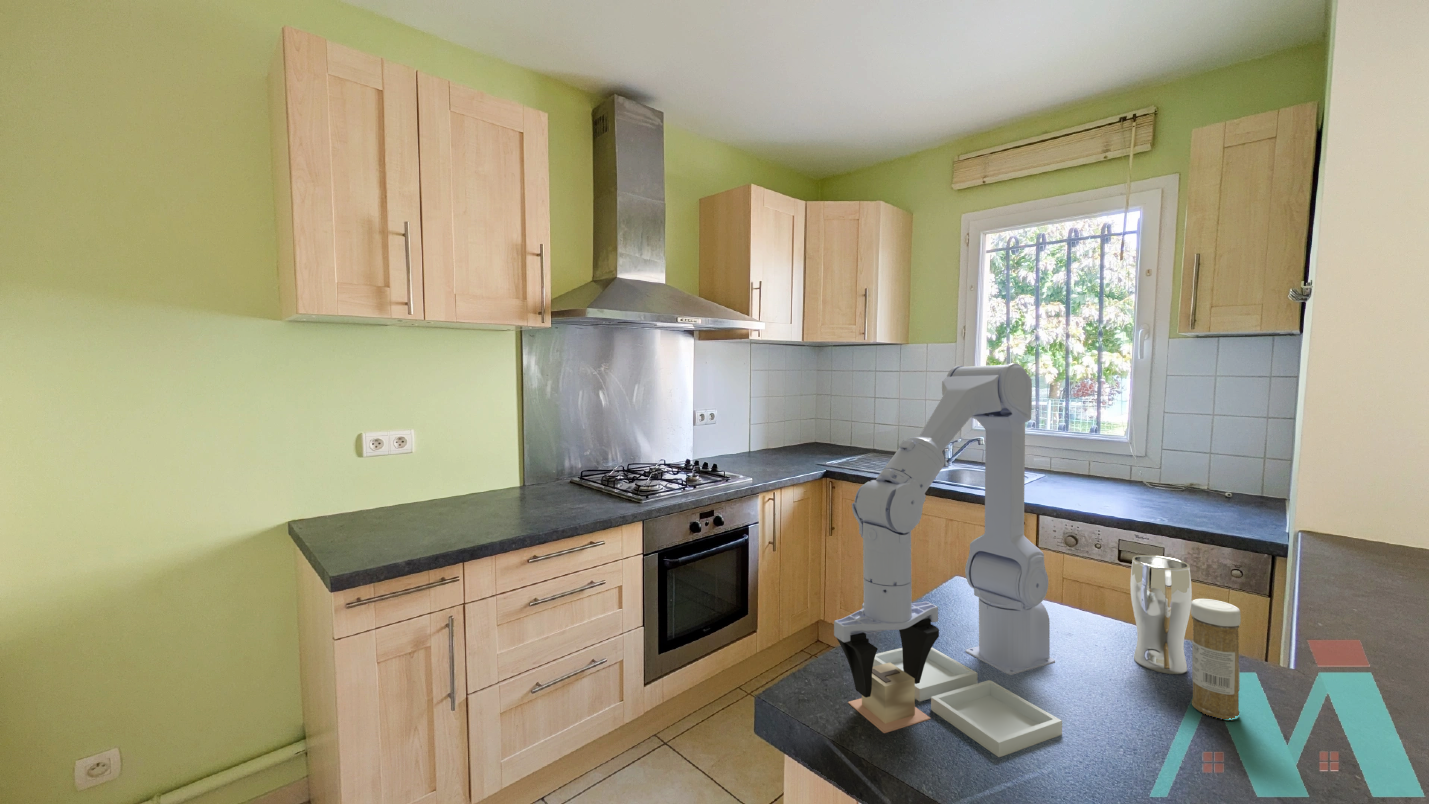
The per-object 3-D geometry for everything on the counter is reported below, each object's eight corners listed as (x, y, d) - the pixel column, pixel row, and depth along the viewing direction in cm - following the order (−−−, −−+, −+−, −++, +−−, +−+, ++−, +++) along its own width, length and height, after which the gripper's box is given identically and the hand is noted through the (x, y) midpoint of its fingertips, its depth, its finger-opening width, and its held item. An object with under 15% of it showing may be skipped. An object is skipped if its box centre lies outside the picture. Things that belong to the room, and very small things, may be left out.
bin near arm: (923, 655, 86) (923, 642, 85) (977, 687, 76) (977, 672, 76) (869, 669, 82) (869, 655, 82) (919, 704, 72) (919, 689, 72)
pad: (891, 693, 75) (891, 689, 75) (930, 722, 69) (930, 717, 69) (848, 705, 72) (847, 701, 72) (884, 736, 66) (884, 732, 66)
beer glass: (1138, 671, 80) (1138, 566, 80) (1124, 649, 86) (1124, 552, 86) (1200, 680, 77) (1200, 571, 77) (1180, 657, 84) (1180, 557, 83)
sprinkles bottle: (1245, 714, 69) (1246, 605, 69) (1232, 726, 67) (1233, 614, 66) (1197, 697, 73) (1198, 594, 73) (1184, 708, 71) (1185, 602, 70)
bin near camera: (989, 694, 74) (989, 679, 74) (1062, 737, 65) (1062, 720, 65) (931, 712, 71) (930, 696, 71) (998, 760, 61) (998, 742, 61)
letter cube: (890, 696, 73) (890, 661, 73) (914, 714, 69) (914, 677, 69) (861, 704, 72) (861, 668, 72) (885, 723, 68) (884, 685, 68)
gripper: (910, 561, 77) (911, 660, 77) (819, 576, 71) (820, 683, 71) (950, 577, 70) (951, 685, 70) (853, 595, 65) (855, 712, 65)
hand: (888, 686), depth 70 cm, fingers open, 7 cm apart
